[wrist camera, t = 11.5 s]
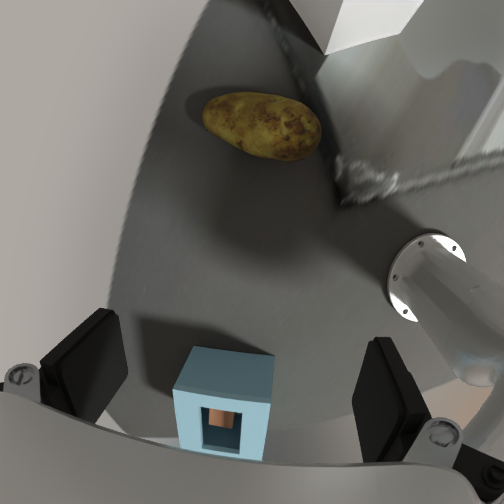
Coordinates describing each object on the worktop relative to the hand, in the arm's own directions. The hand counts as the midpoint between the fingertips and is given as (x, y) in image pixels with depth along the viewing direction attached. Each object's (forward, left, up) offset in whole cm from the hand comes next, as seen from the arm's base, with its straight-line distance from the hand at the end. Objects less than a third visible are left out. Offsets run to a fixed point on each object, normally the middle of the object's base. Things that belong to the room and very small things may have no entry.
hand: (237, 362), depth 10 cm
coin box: (+4, +27, -28) cm, 39 cm away
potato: (+2, -11, -28) cm, 31 cm away
